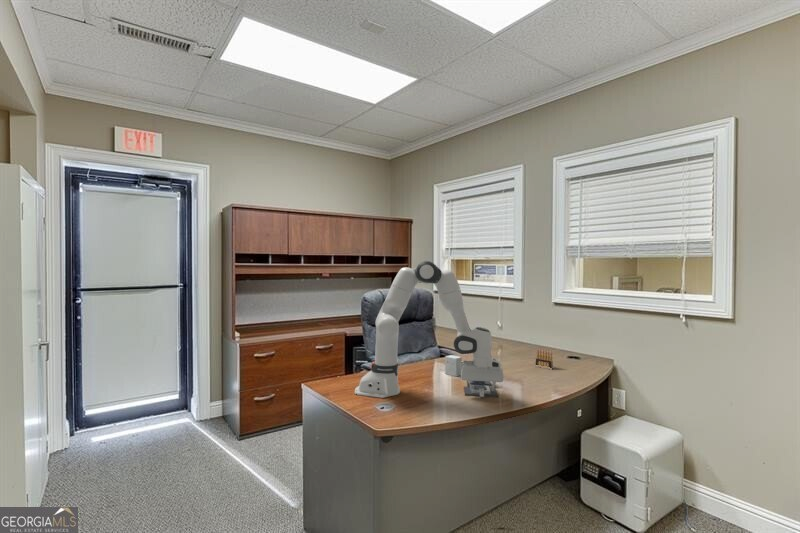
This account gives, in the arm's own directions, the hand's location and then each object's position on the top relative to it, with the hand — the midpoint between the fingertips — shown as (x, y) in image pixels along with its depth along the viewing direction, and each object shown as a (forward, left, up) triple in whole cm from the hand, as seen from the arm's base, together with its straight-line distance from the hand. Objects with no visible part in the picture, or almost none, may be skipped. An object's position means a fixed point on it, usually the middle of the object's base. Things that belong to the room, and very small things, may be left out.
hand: (481, 390), depth 195 cm
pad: (0, +7, -3) cm, 8 cm away
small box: (-13, +38, -4) cm, 40 cm away
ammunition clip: (+44, +64, -4) cm, 78 cm away
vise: (0, +21, -3) cm, 21 cm away
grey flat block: (0, +4, -3) cm, 5 cm away
